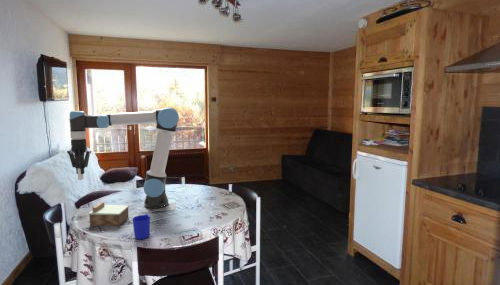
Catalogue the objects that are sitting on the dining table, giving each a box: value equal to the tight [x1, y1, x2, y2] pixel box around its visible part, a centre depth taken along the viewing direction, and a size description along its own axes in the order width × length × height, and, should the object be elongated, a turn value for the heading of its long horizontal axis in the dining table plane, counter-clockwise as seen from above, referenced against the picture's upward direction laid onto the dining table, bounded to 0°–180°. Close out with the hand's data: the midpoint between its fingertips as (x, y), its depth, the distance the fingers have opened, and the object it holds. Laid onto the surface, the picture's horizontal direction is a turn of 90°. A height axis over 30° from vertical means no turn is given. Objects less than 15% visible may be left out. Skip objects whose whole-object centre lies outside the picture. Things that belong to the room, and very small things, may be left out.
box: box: [89, 207, 130, 227], centre depth 168 cm, size 16×12×6 cm
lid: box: [87, 201, 130, 215], centre depth 168 cm, size 17×13×3 cm
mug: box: [132, 213, 151, 240], centre depth 151 cm, size 8×12×10 cm
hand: (80, 179), depth 172 cm, fingers closed
